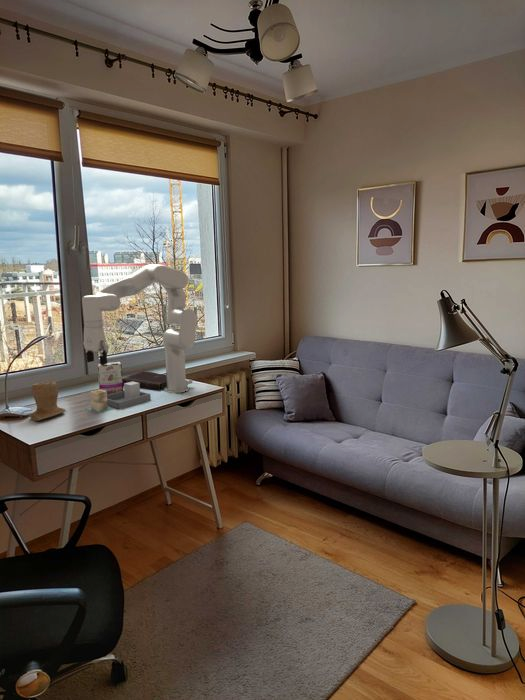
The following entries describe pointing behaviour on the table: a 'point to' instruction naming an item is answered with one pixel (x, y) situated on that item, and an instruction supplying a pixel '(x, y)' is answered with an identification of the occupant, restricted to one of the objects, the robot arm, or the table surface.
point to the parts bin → (119, 400)
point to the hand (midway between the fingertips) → (97, 362)
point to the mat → (99, 411)
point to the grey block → (131, 390)
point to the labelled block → (98, 400)
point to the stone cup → (45, 401)
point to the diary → (148, 380)
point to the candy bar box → (110, 377)
